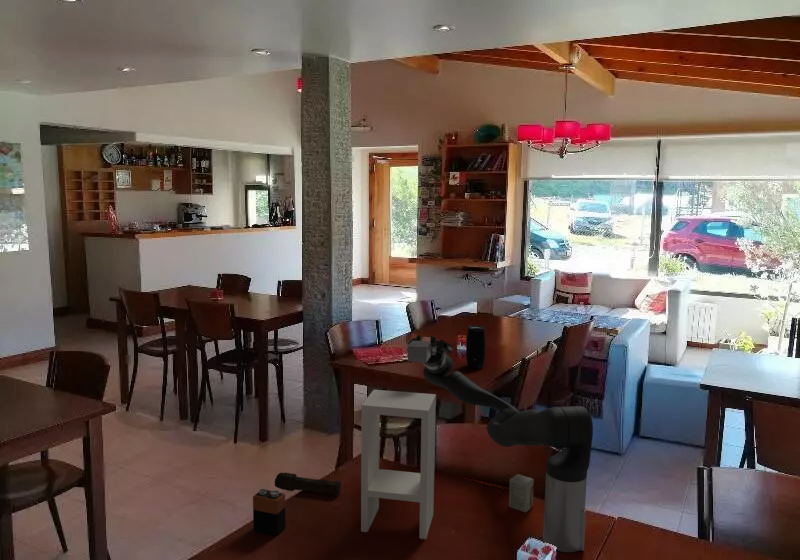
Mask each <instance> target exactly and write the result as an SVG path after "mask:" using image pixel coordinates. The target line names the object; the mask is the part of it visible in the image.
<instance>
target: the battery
mask: <svg viewBox="0 0 800 560" xmlns="http://www.w3.org/2000/svg"><path fill="white" fill-rule="evenodd" d="M252 512H253V513H252V515H253V516H252V519H253V521H252V522H253V531H255V532H259V533H263V534H267V535H271V536H275V537H277V536H279V534H281V532H283V530H285V529H286V526H287V525H286V521H287V520H286V494H285V493H284V492H280V491H279V490H278V489H277V490H270V489H266V488H261V489H259V491H258V492H257V493H255V494H254V495H253V496H252Z"/></svg>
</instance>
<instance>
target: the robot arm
mask: <svg viewBox="0 0 800 560" xmlns="http://www.w3.org/2000/svg"><path fill="white" fill-rule="evenodd" d="M430 337H431V338H430V342H431V346H432V349H431V356H430V358H429V359H428V361H427V362H422V364H423V365H424V368H423V369H422V370H423V371H422V374H423V377H424V380H426V381H428V382H429V383H431V384H432V385H435V386H438V387H440V388H443V389H445V390H447V391H448V392H449V393H451V395H453V396H454V397H455V398H456V399H458V400H459V401H461V402H462V403H464V404H467V405H471V406H472V405H473V406H479V407H480V406H481V407H486V408H490V409H493V410H496V411H497V413H496V414H495V415H494V416H493V417H492V418H491V419H490V420H489V422H488V423H487V425H486V431H487V432H486V433H487V434H488V436H489V438H490V439H491V440H492V441H493V442H494V443H496V444H497V445H499V446H501V447H503V448H511V447H515V446H523V445H524V446H532V447H533V446H534V447H537V446H541V445H545V446H547V447H550V448H553V449H554V448H557V449H562V450H561V451H559V452H557V453H555V454H553V455H552V456H550V457H549V458H548V459H547V461H546V469H545V470H546V471H545V486H544V487H545V490H544V493H545V494H544V508H543V511H544V513H543V530H542V532H543V533H542V534H543V535H542V541H543V543H544V542H546V543H549V544H552V545H554V546H556V547H557V550H558V552H561V553H575V552H578V551H582V552H583V551H585V539H586V538H585V537H586V536H585V535H586V521H587V520H586V518H587V512H586V496H587V495H586V494H587V479H588V477H587V476H588V470H589V468H590V463H591V454H592V453H591V452H592V447H593V446H592V444H593V437H594V435H593V434H594V424H593V423H594V422H593V419H592V416H591V412H590V411H589V410H588V409H587V408H586V407H584V406H581V405H576V406H575V405H572V406H569V405H568V406H554V407H549V408H545V409H544V410H539V409H525V410H524V409H523V410H519V409H518V408H516V407H515V406H513V405H512V404H510V403H509V402H507V401H505V400H503V399H502V398H500V397H499V396H496V395H494V394H493V393H491V392H490V391H487V390H486V389H484V388H482V387H481V386H479V385H478V384H476V383H475V382H474V381H472V380H471V379H469V378H468V377H467V376H466V375H465V374H463V373H462V372H461V371H458V370H455V371H452V370H453V369H454V367H455V366H454V365H455V364H454V363H455V362H454V361H453V359H452V358H451V356H449V355H451V354H452V350H453V345H452V344H450V343H448V342H447V341H445V340H443V339H440V340H438V339H437V338H436V337H434V335H430ZM422 339H423V337H422V335H421V334H418V335H416V338H415V337H413V338H411V339H410V340H409V341H408V342H407V347H406V351H407V352H408V345H409V344H410V343H411V342H412V341H421V340H422ZM451 371H452V372H451ZM557 550H556V551H557Z"/></svg>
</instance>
